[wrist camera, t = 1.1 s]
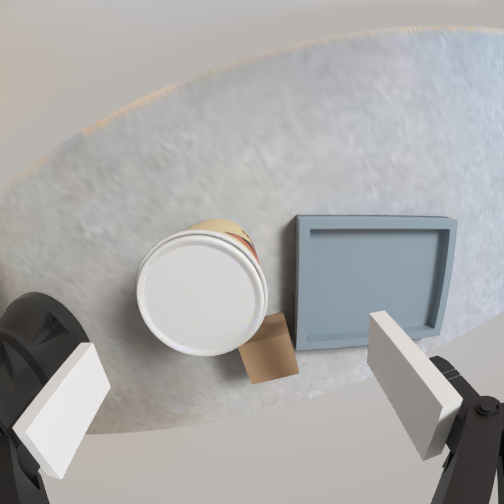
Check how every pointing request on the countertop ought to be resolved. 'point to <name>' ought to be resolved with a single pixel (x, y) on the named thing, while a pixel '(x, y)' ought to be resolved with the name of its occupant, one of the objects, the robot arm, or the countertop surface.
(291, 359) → the walnut block
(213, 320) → the coffee cup
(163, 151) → the countertop surface
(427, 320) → the collection tray
